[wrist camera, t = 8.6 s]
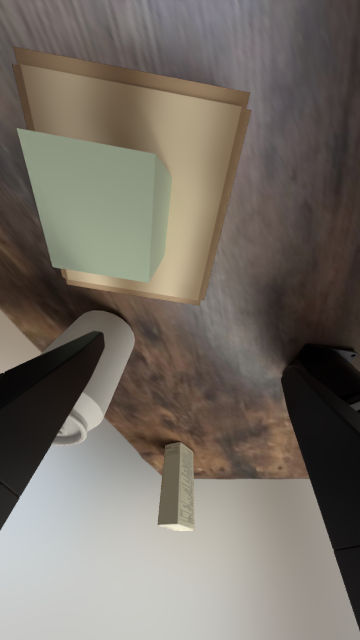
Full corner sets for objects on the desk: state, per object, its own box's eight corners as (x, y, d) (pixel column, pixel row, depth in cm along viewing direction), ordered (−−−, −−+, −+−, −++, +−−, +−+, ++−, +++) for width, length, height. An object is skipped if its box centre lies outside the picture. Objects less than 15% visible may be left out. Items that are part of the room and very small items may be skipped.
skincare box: (164, 444, 40) (155, 524, 30) (181, 440, 38) (177, 524, 28) (178, 454, 43) (174, 531, 33) (194, 452, 41) (195, 532, 31)
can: (74, 301, 21) (-39, 392, 10) (137, 312, 21) (85, 410, 11) (84, 348, 25) (9, 444, 15) (136, 356, 25) (98, 456, 15)
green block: (172, 177, 11) (155, 154, 6) (164, 255, 14) (149, 282, 9) (95, 163, 11) (16, 128, 6) (103, 245, 14) (52, 266, 9)
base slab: (243, 116, 12) (256, 91, 9) (201, 293, 19) (202, 307, 16) (45, 78, 11) (4, 42, 9) (80, 274, 19) (62, 284, 16)
